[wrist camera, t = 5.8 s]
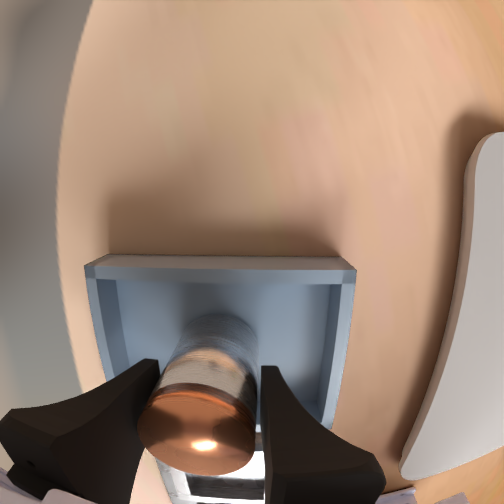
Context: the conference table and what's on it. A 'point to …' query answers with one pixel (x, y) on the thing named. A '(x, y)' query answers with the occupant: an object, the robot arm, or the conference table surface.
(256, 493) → the base
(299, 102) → the conference table surface
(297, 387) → the parts tray
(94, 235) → the conference table surface
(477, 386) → the tablet
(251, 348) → the copper lid glass jar
